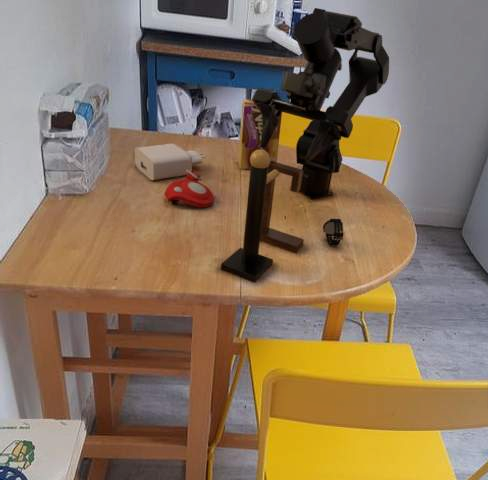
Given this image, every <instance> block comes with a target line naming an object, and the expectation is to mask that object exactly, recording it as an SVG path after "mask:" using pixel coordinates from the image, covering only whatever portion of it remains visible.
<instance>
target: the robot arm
mask: <svg viewBox="0 0 488 480" xmlns="http://www.w3.org/2000/svg"><path fill="white" fill-rule="evenodd" d="M362 26H363V22H362V21H361V19H360V18H358V17H357V16H355V15H351V14H345V13H341V12H340V13H339V12H334V11H330V10H329V11H328V10H326V9H323V8H318V7H314V9H313V12H312V13H309V14H306V15H304V16H302V17H301V18H300V19H299V20H298V21H296V23H295V25H294V28H293V34H294V37H295V40H296V42H297V45H298V47H299V49H300V51H301V54H302V57H303V59H304V60H306V61H307V62H306V65H305V67H304V69H303V71H301V70H300V71H299V72H298V73H296V72H291V71H288V70H285V71H284V74H283V78H282V80H281V85H280V91H284V92H286V94H285V96H286V98H287V100H290V101H286V100H283V99H281V97H280V96H279V94H278V92H277V91H275V90H271V89H267V88H264V87H259V88H258V89H256V90H255V91H254V93H253V96H252V97H251V100H252V101H253V102H254V103H255V105H256V106H257V108H258V109H259V111H260V112H261V114H262V135H261V148H262V149H264V148H265V147H266V146H267V144H268V142H269V140H270V138H271V136H272V134H273V132H274V130H275V129H276V127H277V125H278V123H279V120H278V118H277V117H278V116H280V115H281V113H282V114H283V113H285V114H288V115H292V116H296V117H298V118H303V119H305V120H306V119H307V120H309V121H310V120H311V121H310V122H309V124H308V125H307V127H306V128H305V129H303V133H302V135H300V136H299V138H298V139H297V142H296V145H295V155H296V164H298V165H301V166H302V167H301V170H303V174H302V181H301V187H300V190H299V191H298V192H299V193H301V194H302V195H303V196H305V197H307V199H310V200H318V199H322V198H327V197H331V196H334V192H333V191H332V190H330V187H331V181H332V177H333V174H334V173H335V174H338V173H340V170H341V166H342V164H343V163H342V162H343V156H342V153H341V149H340V141H341V139H342V138H344V139H349V138H350V136H351V134H352V131H353V128H354V124H353V121H352V118H353V117H354V116H355V114H356V113H357V111H358V109H359V108H360V106H361V105H362V103H363V102H364V100H365V98H367V97H370V96H372V95H375V94H377V93H378V92H379V91H380V89H382V87H383V86H384V85H385V84H386V83H387V81H388V78H389V75H390V74H389V73H390V56H389V54H388V52H387V51H386V49H385V47H384V45H383V36H382V34H380V33H379V32H376V31H375V32H374V31H372V30H369V29H367V28H364V27H362ZM338 49H339V50H343V51H353V50H354V51H353V53H352V54H351V56H350V58H349V59H348V74H349V75H348V76H349V80H348V83H347V85H346V86H345V88H344V90H343V91H342V92H341V94H340V95H339V96H338V98H337V99H336V101H335V102H334V104H333V105H329V106H328V107H327V108H326V110H325V111H323V110H321V109H322V108H323V105H324V103H325V100H326V99H329V98H330V96H331V92H330V89H331V87H332V84H333V83H334V80H335V78H336V76H337V74H338V71H339V72H340V71H342V69H343V64H342V61H343V59H342V56H341V55H342V54H341V53H340V51H339V50H338ZM359 51H361V52H365V53H371V54H373V58H374V59H371V58H368V57H363V56H358V52H359Z"/></svg>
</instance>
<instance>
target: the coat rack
mask: <svg viewBox="0 0 488 480" xmlns="http://www.w3.org/2000/svg"><path fill="white" fill-rule="evenodd" d="M250 163H251V169H249V170H250V171H249V180H248V190H247V191H248V192H247V202H246V211H245V212H246V213H245V224H244V234H243V235H244V236H243V245H242V247H239V248H238V249H237V250H236V251H234V252H233V253H232V254H231V255H230V256H228V257H227V258H226V259H225V260H224V261H223V262H221V264H220V271H223V272H226V273H228V274H230V275H233V276H236V277H239V278H241V279H244V280H247V281H249V282H252V283H256V282H257V281H258V280H259V279H260V278H261V277H262V276H263V275H264V274H265V273H266V272H267V271H268V270H269V269H270V268H271V267H272V266H273V263H274V259H273V258H270V257H268V256H265V255H262V254H260V245H261V244H260V243H261V241H260V235H261V227H262V218H263V209H264V200H265V191H266V184H268V183H269V182H270V181H272V180H273V179H275V180H276V179H277V177H279V176H280V173H279V172H278V170H273V171H271V172H270V173H269V174H268V166H269V164H270V156H269V154H268V153H267V152H266V151H264V150H256V151H254V152H253V153H252V155H251V157H250Z"/></svg>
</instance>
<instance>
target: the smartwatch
mask: <svg viewBox="0 0 488 480" xmlns="http://www.w3.org/2000/svg"><path fill="white" fill-rule="evenodd" d="M343 225H344V223H343V222H342V219H341V218H329V220H326V222H324V223H323V225H322V230H323V233H325V239H326V241H327V245H328V246H336V247H337V246H339V245H340V244H341V241H342V240H343V238H344V235H345V234H344V226H343Z"/></svg>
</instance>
